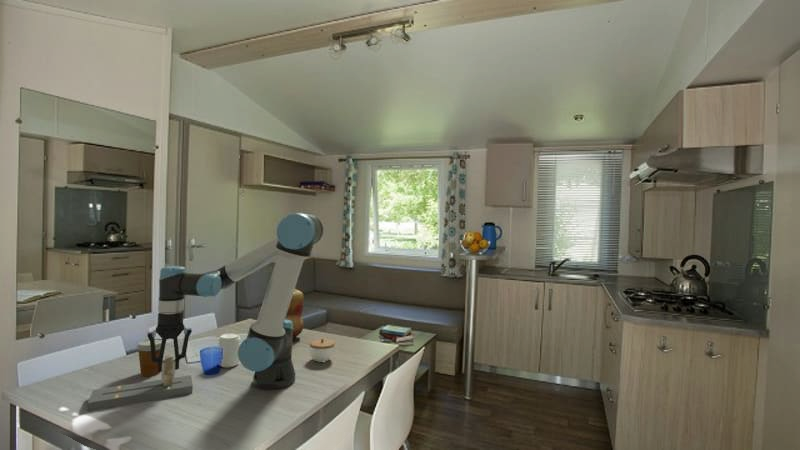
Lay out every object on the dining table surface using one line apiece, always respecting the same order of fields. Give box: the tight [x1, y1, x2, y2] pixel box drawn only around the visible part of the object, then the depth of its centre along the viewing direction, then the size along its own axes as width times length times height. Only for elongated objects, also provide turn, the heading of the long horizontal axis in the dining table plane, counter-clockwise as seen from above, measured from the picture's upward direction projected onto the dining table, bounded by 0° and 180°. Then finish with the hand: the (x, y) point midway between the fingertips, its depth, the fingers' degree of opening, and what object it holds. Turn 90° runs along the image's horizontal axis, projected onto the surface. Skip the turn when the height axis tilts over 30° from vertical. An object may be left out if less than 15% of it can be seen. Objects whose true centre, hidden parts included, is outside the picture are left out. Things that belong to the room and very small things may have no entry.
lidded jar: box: [309, 338, 335, 363], centre depth 165 cm, size 11×11×9 cm
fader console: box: [86, 374, 193, 412], centre depth 126 cm, size 28×10×3 cm, turn 122°
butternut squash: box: [285, 288, 305, 340], centre depth 193 cm, size 14×13×25 cm
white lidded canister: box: [218, 332, 241, 368], centre depth 155 cm, size 8×8×12 cm
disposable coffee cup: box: [136, 337, 168, 377], centre depth 144 cm, size 10×10×12 cm
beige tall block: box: [164, 354, 174, 387], centre depth 130 cm, size 2×4×9 cm, turn 32°
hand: (167, 379), depth 130 cm, fingers closed on beige tall block, 2 cm apart
